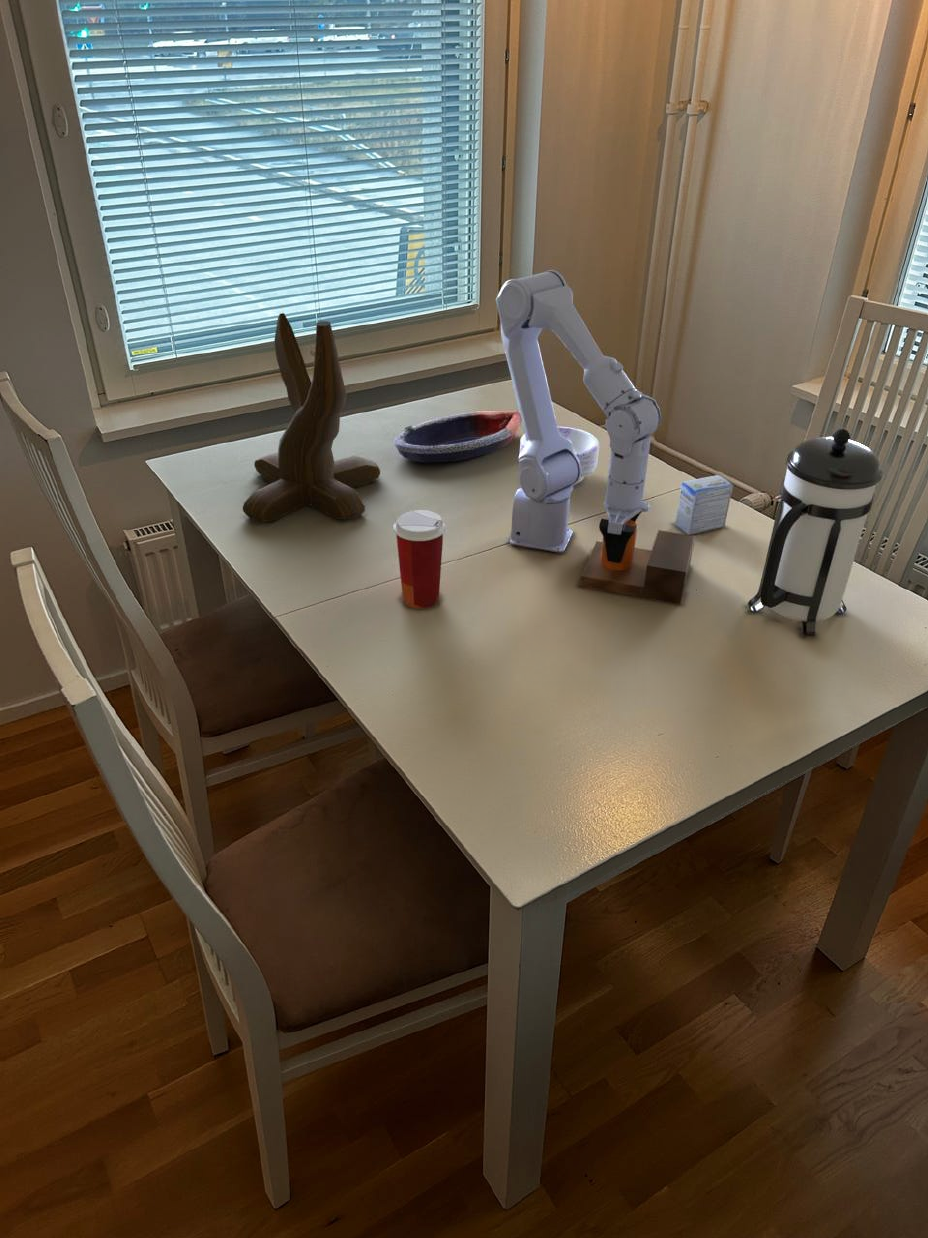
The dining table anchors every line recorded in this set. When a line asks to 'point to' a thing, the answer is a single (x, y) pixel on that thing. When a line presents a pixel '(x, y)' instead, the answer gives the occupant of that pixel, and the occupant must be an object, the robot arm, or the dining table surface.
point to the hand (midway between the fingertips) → (617, 552)
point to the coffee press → (817, 528)
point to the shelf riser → (646, 570)
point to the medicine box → (703, 504)
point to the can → (627, 556)
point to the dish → (458, 436)
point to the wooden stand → (310, 438)
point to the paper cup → (420, 556)
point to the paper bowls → (578, 448)
